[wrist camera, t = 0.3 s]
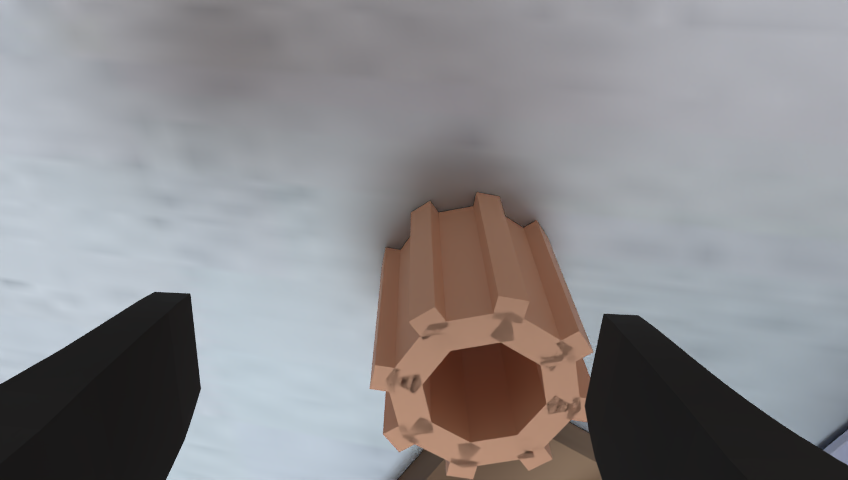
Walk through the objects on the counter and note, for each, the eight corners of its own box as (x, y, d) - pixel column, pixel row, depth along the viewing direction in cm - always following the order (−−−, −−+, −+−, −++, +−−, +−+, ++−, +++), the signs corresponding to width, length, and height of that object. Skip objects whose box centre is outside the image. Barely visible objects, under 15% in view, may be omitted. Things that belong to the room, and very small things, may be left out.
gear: (584, 251, 21) (642, 369, 16) (485, 365, 23) (506, 505, 17) (446, 162, 20) (458, 258, 14) (353, 291, 22) (332, 419, 16)
